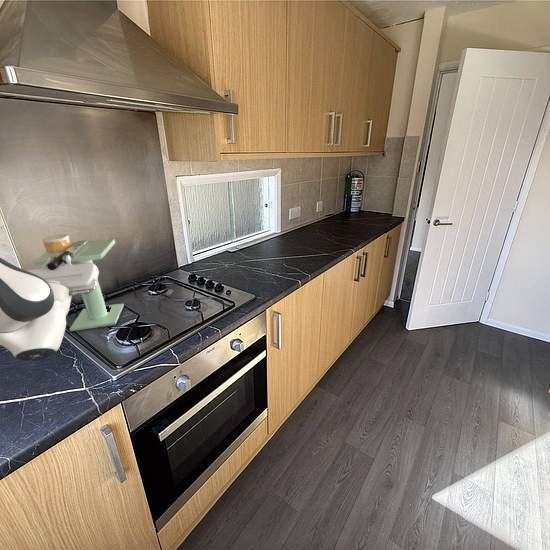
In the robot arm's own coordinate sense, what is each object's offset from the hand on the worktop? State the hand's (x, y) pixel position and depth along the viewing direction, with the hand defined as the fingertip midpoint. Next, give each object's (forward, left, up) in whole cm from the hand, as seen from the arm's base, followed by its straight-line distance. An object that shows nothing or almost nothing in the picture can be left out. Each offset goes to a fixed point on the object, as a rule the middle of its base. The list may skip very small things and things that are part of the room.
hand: (60, 257), depth 83 cm
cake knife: (-5, +4, -1) cm, 6 cm away
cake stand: (-10, +8, -27) cm, 30 cm away
